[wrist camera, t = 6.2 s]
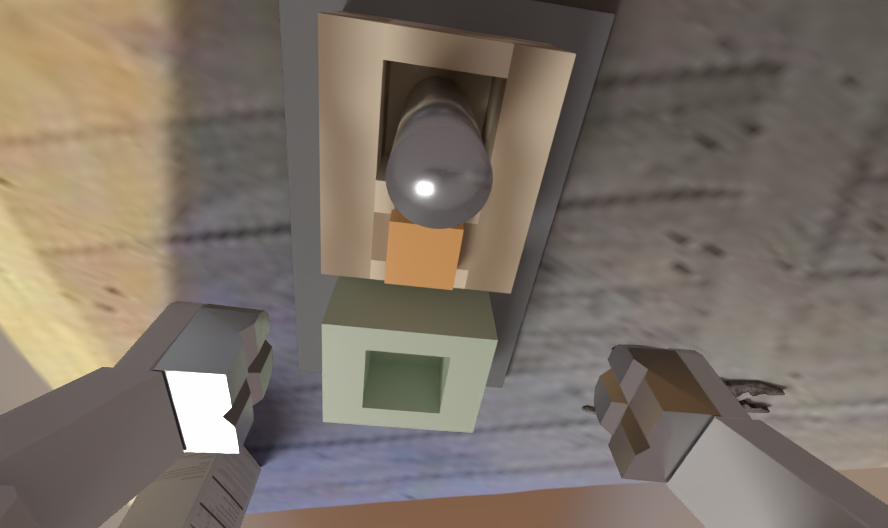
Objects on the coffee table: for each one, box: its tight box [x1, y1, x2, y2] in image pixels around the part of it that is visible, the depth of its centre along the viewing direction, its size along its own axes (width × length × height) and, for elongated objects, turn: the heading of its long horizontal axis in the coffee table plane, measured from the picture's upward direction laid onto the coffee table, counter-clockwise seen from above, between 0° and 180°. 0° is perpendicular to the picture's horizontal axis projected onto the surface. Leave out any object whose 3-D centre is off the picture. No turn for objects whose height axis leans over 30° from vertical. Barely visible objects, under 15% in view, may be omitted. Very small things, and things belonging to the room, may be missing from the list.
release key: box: [384, 210, 464, 290], centre depth 26 cm, size 4×4×6 cm
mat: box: [279, 0, 615, 388], centre depth 32 cm, size 19×31×1 cm, turn 172°
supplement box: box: [118, 446, 261, 528], centre depth 41 cm, size 7×7×13 cm
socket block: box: [318, 11, 576, 294], centre depth 26 cm, size 12×14×6 cm
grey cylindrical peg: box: [386, 76, 493, 229], centre depth 21 cm, size 4×4×12 cm
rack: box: [322, 276, 498, 433], centre depth 34 cm, size 12×10×6 cm
